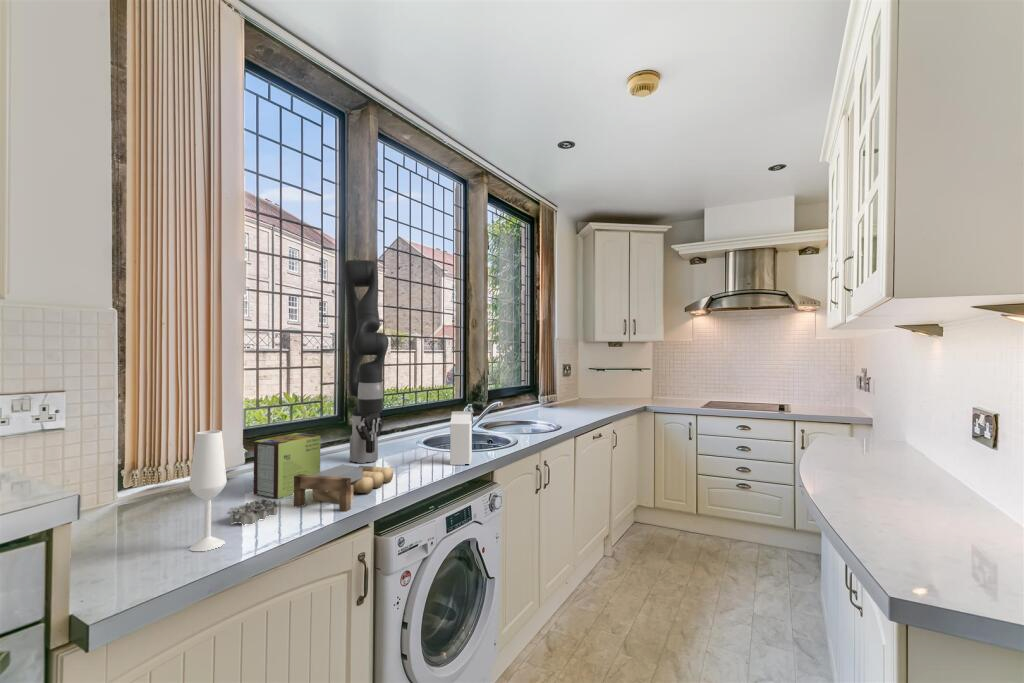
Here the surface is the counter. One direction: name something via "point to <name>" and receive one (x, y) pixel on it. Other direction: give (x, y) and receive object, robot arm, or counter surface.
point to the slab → (343, 472)
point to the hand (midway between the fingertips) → (370, 452)
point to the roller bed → (372, 478)
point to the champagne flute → (208, 480)
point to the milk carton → (460, 438)
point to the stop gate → (323, 488)
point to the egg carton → (253, 511)
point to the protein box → (284, 462)
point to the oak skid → (329, 495)
